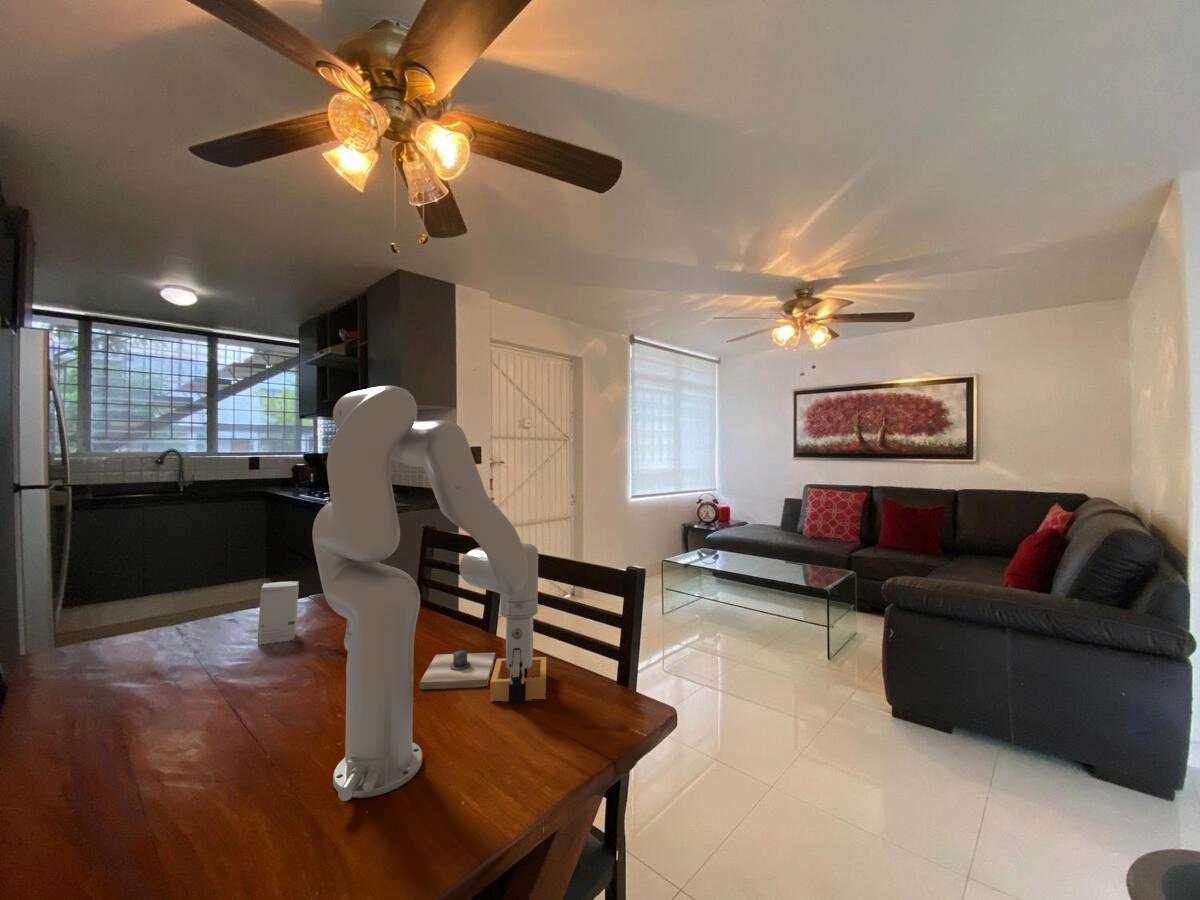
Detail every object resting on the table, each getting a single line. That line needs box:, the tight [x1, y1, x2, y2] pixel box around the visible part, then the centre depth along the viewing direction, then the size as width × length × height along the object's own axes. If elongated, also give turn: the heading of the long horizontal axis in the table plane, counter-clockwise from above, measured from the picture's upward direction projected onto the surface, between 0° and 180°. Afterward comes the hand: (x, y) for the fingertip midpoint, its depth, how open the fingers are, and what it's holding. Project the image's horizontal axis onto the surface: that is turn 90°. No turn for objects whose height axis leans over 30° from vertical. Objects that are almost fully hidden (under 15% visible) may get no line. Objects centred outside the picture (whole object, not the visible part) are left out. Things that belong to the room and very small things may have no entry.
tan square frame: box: [489, 656, 547, 703], centre depth 101 cm, size 11×11×4 cm
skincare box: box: [256, 580, 300, 646], centre depth 126 cm, size 8×6×15 cm
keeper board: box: [419, 649, 496, 690], centre depth 107 cm, size 14×14×4 cm
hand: (518, 694), depth 96 cm, fingers open, 5 cm apart
